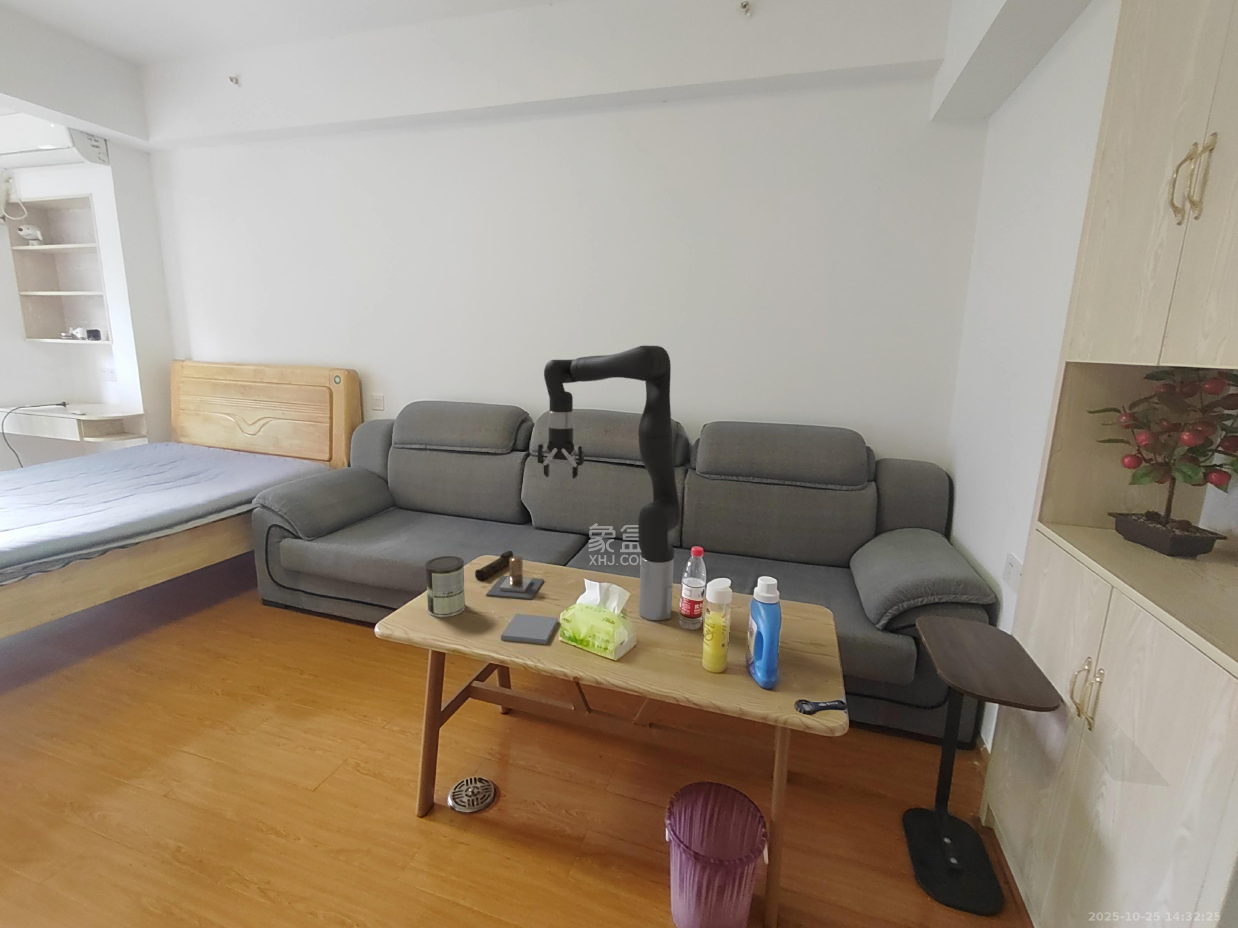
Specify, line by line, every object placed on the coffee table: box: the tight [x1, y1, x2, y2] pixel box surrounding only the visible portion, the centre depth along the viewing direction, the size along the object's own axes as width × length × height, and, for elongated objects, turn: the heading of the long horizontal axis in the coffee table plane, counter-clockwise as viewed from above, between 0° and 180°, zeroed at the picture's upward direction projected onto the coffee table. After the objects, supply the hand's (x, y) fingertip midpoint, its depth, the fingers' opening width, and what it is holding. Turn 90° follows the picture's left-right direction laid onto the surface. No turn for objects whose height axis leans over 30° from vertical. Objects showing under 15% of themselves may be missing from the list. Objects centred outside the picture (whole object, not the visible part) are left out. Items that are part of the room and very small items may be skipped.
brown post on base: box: [500, 555, 533, 593], centre depth 172 cm, size 8×8×9 cm
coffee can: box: [424, 555, 466, 618], centre depth 157 cm, size 10×10×14 cm
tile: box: [500, 613, 559, 645], centre depth 148 cm, size 12×2×12 cm
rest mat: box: [485, 575, 545, 601], centre depth 173 cm, size 14×14×1 cm
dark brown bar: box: [474, 550, 514, 582], centre depth 186 cm, size 19×4×5 cm, turn 154°
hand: (560, 477), depth 173 cm, fingers open, 8 cm apart
